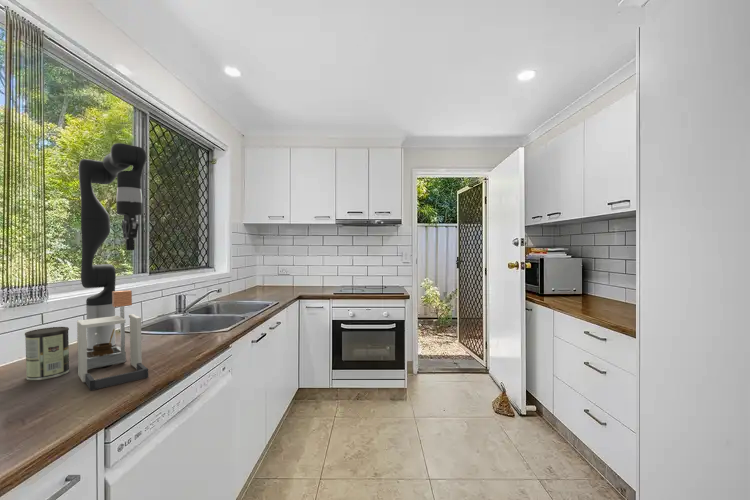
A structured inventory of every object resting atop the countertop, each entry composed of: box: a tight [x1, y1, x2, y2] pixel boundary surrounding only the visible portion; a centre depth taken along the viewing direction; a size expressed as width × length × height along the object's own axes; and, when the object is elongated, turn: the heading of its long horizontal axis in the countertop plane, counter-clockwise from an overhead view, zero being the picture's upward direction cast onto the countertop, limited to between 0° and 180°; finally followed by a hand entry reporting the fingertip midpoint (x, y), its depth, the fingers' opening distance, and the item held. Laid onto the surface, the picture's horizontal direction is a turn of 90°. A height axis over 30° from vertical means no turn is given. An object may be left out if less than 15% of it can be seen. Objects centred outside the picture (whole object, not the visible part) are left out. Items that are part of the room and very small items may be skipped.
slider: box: [87, 289, 133, 370], centre depth 124 cm, size 12×13×24 cm
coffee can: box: [24, 326, 70, 381], centre depth 114 cm, size 10×10×14 cm
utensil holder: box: [92, 329, 114, 368], centre depth 122 cm, size 6×6×12 cm
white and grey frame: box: [76, 313, 143, 383], centre depth 115 cm, size 10×15×17 cm, turn 136°
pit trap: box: [84, 363, 149, 391], centre depth 109 cm, size 9×14×2 cm, turn 136°
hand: (130, 250), depth 128 cm, fingers closed
